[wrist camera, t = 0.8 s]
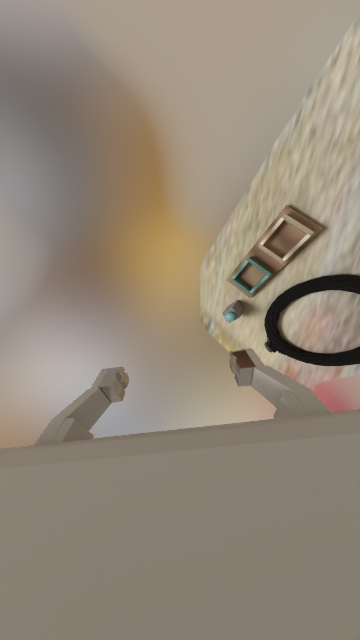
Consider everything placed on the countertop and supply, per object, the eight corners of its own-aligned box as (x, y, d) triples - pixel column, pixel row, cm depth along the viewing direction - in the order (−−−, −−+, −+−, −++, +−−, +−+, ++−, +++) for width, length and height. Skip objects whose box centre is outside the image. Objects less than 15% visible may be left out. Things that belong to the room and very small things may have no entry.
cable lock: (460, 346, 27) (295, 380, 47) (442, 336, 30) (294, 372, 50) (354, 248, 29) (239, 322, 49) (347, 248, 31) (241, 317, 52)
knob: (237, 299, 49) (230, 309, 42) (244, 308, 49) (238, 319, 42) (228, 305, 52) (220, 315, 45) (235, 313, 52) (228, 325, 45)
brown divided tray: (286, 206, 34) (286, 202, 30) (322, 229, 32) (327, 227, 29) (227, 279, 48) (224, 281, 45) (250, 297, 47) (248, 301, 43)
